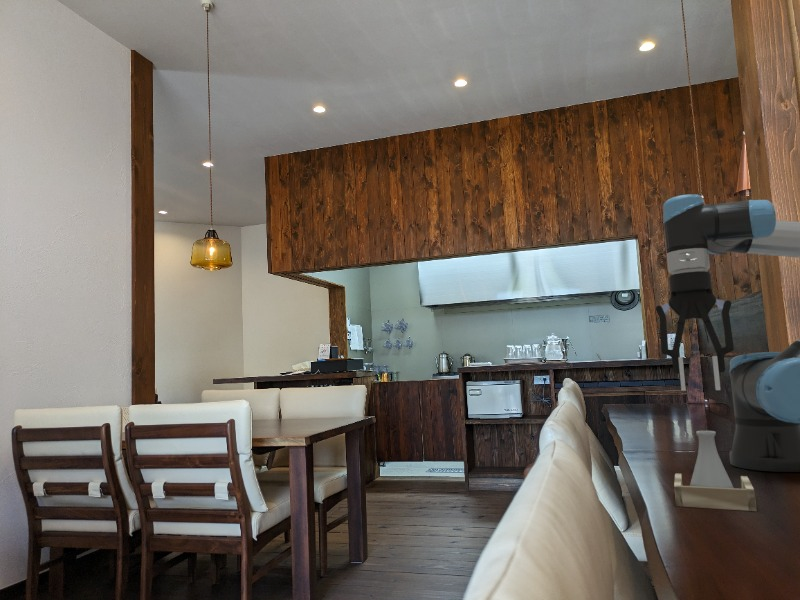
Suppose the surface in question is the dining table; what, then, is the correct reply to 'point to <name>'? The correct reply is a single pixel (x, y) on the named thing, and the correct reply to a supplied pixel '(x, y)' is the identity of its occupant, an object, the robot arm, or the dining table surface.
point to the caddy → (715, 496)
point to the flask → (709, 464)
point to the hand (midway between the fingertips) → (700, 389)
